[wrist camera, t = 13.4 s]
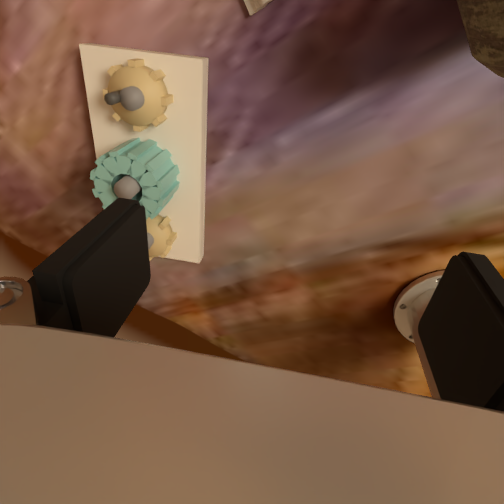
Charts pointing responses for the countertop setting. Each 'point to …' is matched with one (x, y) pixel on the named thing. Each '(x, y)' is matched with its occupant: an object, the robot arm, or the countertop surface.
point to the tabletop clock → (485, 31)
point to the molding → (255, 5)
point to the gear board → (155, 131)
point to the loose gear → (137, 174)
